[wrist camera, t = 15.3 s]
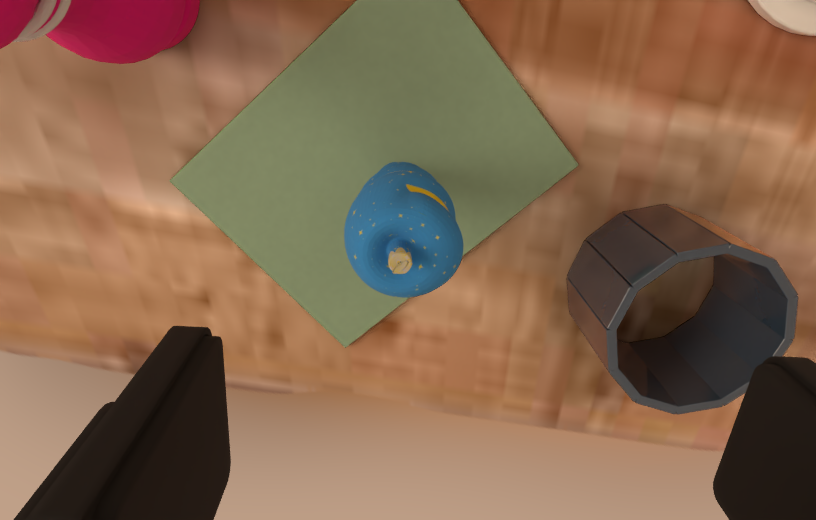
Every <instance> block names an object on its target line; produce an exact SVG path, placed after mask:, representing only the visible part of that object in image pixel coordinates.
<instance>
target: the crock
mask: <svg viewBox="0 0 816 520" xmlns="http://www.w3.org/2000/svg"><path fill="white" fill-rule="evenodd" d="M712 256H714V284H713V287H712V289H711V290H710V292H709V293H708V295H707V297H706V298H705V300H704V302H703V303H702V305H701V307H700V308H699V310H698V311H697V313H696V315H695V316H694V317H693V318H691V319H690V320H688V321H687V322H685V323H684V324H682V325H681V326H679V327H678V328H676V329H675V330H673V331H672V332H670V333H669V334H667V335H666V336H664V337H661V338H655V339H649V340H644V341H638V342H632V343H626V342H623V341H620V340H617V328H618V327H619V325H620V323H621V321H622V319H623V318H624V316H625V314H626V312H627V310H628V309H629V307H630V305H631V303H632V301H633V300H634V298H635V296H636V294H637V292H638V291H639V290H640V289H642V288H643V287H645V286H646V285H647V284H649V283H650V282H652V281H653V280H655V279H656V278H657V277H659V276H660V275H662V274H663V273H665V272H666V271H667V270H669V269H670V268H672V267H673V266H674V265H676V264H677V263H679V262H684V261H689V260H695V259H701V258H706V257H712ZM567 276H568V277H567V289H568V302H569V312H570V315H571V316H572V318H573V319H574V321H575V322H576V324H577V325H578V327H579V328H580V330H581V331H582V333H583V334H584V336H585V337H586V339H587V340H588V342H589V343H590V345H591V346H592V348H593V349H594V351H595V352H596V354H597V355H598V357H599V358H600V360H601V361H602V363H603V364H604V366H605V367H606V369H607V370H608V372H609V373H610V375H611V376H612V377H613V378H614V379H615V380H616V382H617V383H618V384H619V385H620V386H621V388H622V389H623V390H624V391H625V392H626V393H627V395H628V396H629V397H630V398H631V399H632V401H634V402H635V403H638V404H641V405H645V406H648V407H651V408H655V409H658V410H662V411H665V412H668V413H672V414H683V413H689V412H695V411H701V410H707V409H712V408H718V407H722V406H723V405H724V406H725V405H727V404H728V403H730V402H731V401H733V400H735V399H736V398H738V397H739V396H741V395H743V394H744V393H746V390H747V388H748V385H749V382H750V379H751V377H752V374H753V371H754V370H755V368H756V367H757V366H758V365H760V364H763V362H764V361H765V360H766V359H767V358H769V357H772V356H781V357H782V356H783V355H784V353H785V352H786V351H787V349H788V348H789V346H790V345H791V343H792V342H793V340H792V339H794V337H795V326H796V316H797V306H798V296H797V295H798V294H797V292H796V291H795V289H794V287H793V286H792V284H791V283H790V281H789V280H788V278H787V276H786V275H785V273H784V272H783V270H782V269H781V267H780V265H779V264H778V262H777V261H776V260H775V259H774V258H772V257H771V256H769V255H767V254H765V253H764V252H762V251H760V250H758V249H757V248H755V247H753V246H751V245H750V244H748V243H746V242H744V241H743V240H741V239H739V238H737V237H736V236H734V235H732V234H730V233H729V232H727V231H725V230H723V229H722V228H720V227H718V226H716V225H715V224H713V223H711V222H709V221H708V220H706V219H704V218H702V217H700V216H697V215H695V214H692V213H689V212H686V211H684V210H681V209H678V208H675V207H673V206H670V205H667V204H666V205H665V204H662V205H656V206H651V207H646V208H640V209H635V210H629V211H624V212H622V213H620V214H618V215H617V216H616V217H614V218H613V219H612V220H610V221H609V222H607V223H606V224H605V225H603V226H602V227H601V228H599V229H598V230H597V231H595V232H594V233H593V234H591V235H590V236H589V237H587V238H586V240H585V241H584V242H583V244H582V246H581V248H580V250H579V252H578V254H577V256H576V258H575V260H574V262H573V264H572V266H571V268H570V270H569V272H568V274H567Z"/></svg>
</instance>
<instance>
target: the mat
mask: <svg viewBox="0 0 816 520" xmlns="http://www.w3.org/2000/svg"><path fill="white" fill-rule="evenodd" d="M392 162H409V163H412V164H415V165H417V166H419V167H420V168H422V169H424V170H425V171H427V172H428V173H430V174H431V175H432V176H433V177H434V178H435V179H436V181H437V182H438V183H439V184H440V185H441V186H442V187H443V188H444V189H445V190H446V191H447V193H448V194H449V196H450V198H451V200H452V202H453V205H454V208H455V216H456V222H457V224H458V226H459V228H460V231H461V233H462V237H463V255H465V254H466V253H467V252H468V251H470V250H471V249H472V248H474V247H475V246H476V245H477V244H479V243H480V242H481V241H483V240H484V239H485V238H486V237H488V236H489V235H490V234H491V233H493V232H494V231H495V230H497V229H498V228H499V227H500V226H502V225H503V224H504V223H506V222H507V221H508V220H509V219H511V218H512V217H513V216H514V215H516V214H517V213H518V212H520V211H521V210H522V209H523V208H525V207H526V206H527V205H529V204H530V203H531V202H532V201H534V200H535V199H536V198H537V197H539V196H540V195H541V194H543V193H544V192H545V191H546V190H548V189H549V188H550V187H552V186H553V185H554V184H555V183H557V182H558V181H559V180H560V179H562V178H563V177H564V176H566V175H567V174H568V173H569V172H571V171H572V170H573V169H575V168H576V167H577V166H578V163H577V162H576V160H575V159H574V158H573V156H572V155H571V154H570V152H569V151H568V150H567V148H566V147H565V146H564V144H563V143H562V141H561V140H560V139H559V137H558V136H557V135H556V133H555V132H554V131H553V129H552V128H551V127H550V125H549V124H548V122H547V121H546V120H545V118H544V117H543V116H542V114H541V113H540V112H539V110H538V109H537V108H536V106H535V105H534V103H533V102H532V101H531V99H530V98H529V97H528V95H527V94H526V93H525V91H524V90H523V88H522V87H521V86H520V84H519V83H518V82H517V80H516V79H515V78H514V76H513V75H512V74H511V72H510V71H509V69H508V68H507V67H506V65H505V64H504V63H503V61H502V60H501V59H500V57H499V56H498V55H497V53H496V52H495V50H494V49H493V48H492V46H491V45H490V44H489V42H488V41H487V40H486V38H485V37H484V36H483V34H482V33H481V31H480V30H479V29H478V27H477V26H476V25H475V23H474V22H473V21H472V19H471V18H470V17H469V15H468V14H467V12H466V11H465V10H464V8H463V7H462V6H461V4H460V3H459V2H458V0H357V1H356V2H355V3H354V4H352V5H351V6H350V7H349V8H348V9H347V10H346V11H345V12H344V13H343V14H342V15H341V16H340V17H339V18H338V19H337V20H336V21H335V22H334V23H333V24H332V25H331V26H330V27H329V28H328V29H326V30H325V31H324V32H323V33H322V34H321V35H320V36H319V37H318V38H317V39H316V40H315V41H314V42H313V43H312V44H311V45H310V46H309V47H308V48H307V49H306V50H305V51H304V52H303V53H302V54H301V55H299V56H298V57H297V58H296V59H295V60H294V61H293V62H292V63H291V64H290V65H289V66H288V67H287V68H286V69H285V70H284V71H283V72H282V73H281V74H280V75H279V76H278V77H277V78H276V79H275V80H274V81H272V82H271V83H270V84H269V85H268V86H267V87H266V88H265V89H264V90H263V91H262V92H261V93H260V94H259V95H258V96H257V97H256V98H255V99H254V100H253V101H252V102H251V103H250V104H249V105H248V106H247V107H245V108H244V109H243V110H242V111H241V112H240V113H239V114H238V115H237V116H236V117H235V118H234V119H233V120H232V121H231V122H230V123H229V124H228V125H227V126H226V127H225V128H224V129H223V130H222V131H221V132H220V133H218V134H217V135H216V136H215V137H214V138H213V139H212V140H211V141H210V142H209V143H208V144H207V145H206V146H205V147H204V148H203V149H202V150H201V151H200V152H199V153H198V154H197V155H196V156H195V157H194V158H193V159H191V160H190V161H189V162H188V163H187V164H186V165H185V166H184V167H183V168H182V169H181V170H180V171H179V172H178V173H177V174H176V175H175V176H174V177H173V178H172V179H171V180H170V182H171V183H172V184H173V185H174V186H175V187H176V188H177V189H178V190H180V191H181V192H182V193H183V194H184V195H185V196H186V197H187V198H188V199H189V200H190V201H191V202H192V203H193V204H194V205H195V206H196V207H197V208H199V209H200V210H201V211H202V212H203V213H204V214H205V215H206V216H207V217H208V218H209V219H210V220H211V221H212V222H213V223H214V224H215V225H216V226H217V227H219V228H220V229H221V230H222V231H223V232H224V233H225V234H226V235H227V236H228V237H229V238H230V239H231V240H232V241H233V242H234V243H235V244H236V245H238V246H239V247H240V248H241V249H242V250H243V251H244V252H245V253H246V254H247V255H248V256H249V257H250V258H251V259H252V260H253V261H254V262H255V263H256V264H258V265H259V266H260V267H261V268H262V269H263V270H264V271H265V272H266V273H267V274H268V275H269V276H270V277H271V278H272V279H273V280H274V281H275V282H277V283H278V284H279V285H280V286H281V287H282V288H283V289H284V290H285V291H286V292H287V293H288V294H289V295H290V296H291V297H292V298H293V299H294V300H296V301H297V302H298V303H299V304H300V305H301V306H302V307H303V308H304V309H305V310H306V311H307V312H308V313H309V314H310V315H311V316H312V317H313V318H314V319H316V320H317V321H318V322H319V323H320V324H321V325H322V326H323V327H324V328H325V329H326V330H327V331H328V332H329V333H330V334H331V335H332V336H333V337H335V338H336V339H337V340H338V341H339V342H340V343H341V344H342V345H343V346H344V347H345V348H346V347H347V346H348V345H350V344H351V343H352V342H354V341H355V340H356V339H357V338H359V337H360V336H361V335H362V334H364V333H365V332H366V331H368V330H369V329H370V328H371V327H373V326H374V325H375V324H377V323H378V322H379V321H380V320H382V319H383V318H384V317H385V316H387V315H388V314H389V313H391V312H392V311H393V310H394V309H396V308H397V307H398V306H400V305H401V304H402V303H403V302H405V301H406V300H407V299H408V298H410V297H405V298H402V297H393V296H389V295H385V294H382V293H380V292H378V291H376V290H374V289H372V288H371V287H369V286H368V285H367V284H366V283H364V282H363V281H362V280H361V279H360V277H359V276H358V275H357V274H356V272H355V271H354V269H353V267H352V265H351V263H350V261H349V259H348V256H347V253H346V249H345V241H344V228H345V222H346V218H347V215H348V212H349V210H350V208H351V205H352V203H353V202H354V200H355V198H356V197H357V195H358V194H359V193H360V191H361V190H362V188H363V186H364V185H365V184H366V183H367V181H368V180H369V179H370V178H371V177H373V176H374V175H375V174H377V173H378V172H379V171H380V170H381V168H383V167H384V166H385V165H387V164H389V163H392Z"/></svg>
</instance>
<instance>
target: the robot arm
mask: <svg viewBox="0 0 816 520" xmlns="http://www.w3.org/2000/svg"><path fill="white" fill-rule="evenodd" d="M748 2H749V3H750V4H751V5H752V7H753V8H754V9H755V10H756V12H757V13H758V14H759V15H760V16H762V17H763V18H764V19H766V20H767V21H768V22H769V23H771V24H772V25H774V26H776V27H778V28H780V29H783V30H785V31H787V32H790V33H795V34H800V35H806V36H816V0H748ZM230 463H231V461H230V444H229V431H228V416H227V402H226V387H225V373H224V359H223V345H222V340H221V338H220V337H217V336H212V334H211V331H210V329H209V328H208V327H188V326H173V327H172V328H171V329H170V330H169V331H168V332H167V334H166V335H165V336H164V338H163V339H162V340H161V342H160V343H159V344H158V345H157V347H156V348H155V349H154V351H153V352H152V353H151V355H150V356H149V357H148V359H147V360H146V361H145V363H144V364H143V365H142V367H141V368H140V369H139V371H138V372H137V373H136V374H135V376H134V377H133V378H132V380H131V381H130V382H129V384H128V385H127V386H126V388H125V389H124V390H123V392H122V393H121V394H120V396H119V397H118V398H117V400H116V401H115V402H110V403H107V404H105V405H104V406H103V407H102V408H101V409H100V410H99V411H98V412H97V414H96V415H95V416H94V418H93V419H92V420H91V422H90V423H89V424H88V425H87V427H86V428H85V429H84V430H83V432H82V433H81V434H80V435H79V437H78V438H77V439H76V441H75V442H74V443H73V444H72V446H71V447H70V448H69V449H68V451H67V452H66V453H65V455H64V456H63V457H62V458H61V460H60V461H59V462H58V464H57V465H56V466H55V467H54V469H53V470H52V471H51V472H50V474H49V475H48V476H47V478H46V479H45V480H44V481H43V483H42V484H41V485H40V487H39V488H38V489H37V490H36V492H35V493H34V494H33V495H32V497H31V498H30V499H29V501H28V502H27V503H26V504H25V506H24V507H23V508H22V510H21V511H20V512H19V513H18V515H17V516H16V517H15V518H14V520H213V519H214V517H215V514H216V511H217V509H218V506H219V503H220V501H221V498H222V495H223V493H224V490H225V487H226V485H227V482H228V478H229V473H230ZM713 490H714V495H715V498H716V500H717V502H718V503H719V505H720V507H721V508H722V509H723V511H724V512H725V514H726V515H727V517H728V518H729V520H816V363H814V362H813V361H811V360H810V359H808V358H800V357H781V356H772V357H769V358H767V359H766V360H765V361H764V362H763V364H760V365H758V366H757V367H756V368H755V370H754V371H753V374H752V377H751V379H750V382H749V385H748V388H747V390H746V393H745V396H744V399H743V401H742V404H741V407H740V409H739V412H738V415H737V418H736V420H735V423H734V426H733V429H732V431H731V434H730V437H729V439H728V442H727V445H726V448H725V450H724V453H723V456H722V459H721V461H720V464H719V467H718V470H717V472H716V475H715V478H714V482H713Z"/></svg>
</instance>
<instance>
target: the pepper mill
mask: <svg viewBox="0 0 816 520" xmlns="http://www.w3.org/2000/svg"><path fill="white" fill-rule="evenodd" d="M199 4H200V0H0V49H1V48H3V47H5V46H7V45H8V44H10V43H11V42H23V41H30V40H34V39H37V38H39V37H42V36H44V35H46V36H48V37H49V38H50V39H52V40H53V41H55V42H56V43H58V44H59V45H61V46H63V47H65V48H66V49H68V50H70V51H72V52H74V53H76V54H78V55H80V56H82V57H85V58H88V59H92V60H95V61H100V62H108V63H118V64H124V63H135V62H138V61H142V60H145V59H148V58H150V57H152V56H154V55H155V54H157V53H158V52H160V51H162V50H165V49H168V48H170V47H173V46H175V45H176V44H178V43H179V42H181V41H182V40H183V39H184V38H185V37H186V36H187V35H188V34H189V32H190V31H191V29H192V28H193V26H194V24H195V21H196V19H197V16H198V11H199Z"/></svg>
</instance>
